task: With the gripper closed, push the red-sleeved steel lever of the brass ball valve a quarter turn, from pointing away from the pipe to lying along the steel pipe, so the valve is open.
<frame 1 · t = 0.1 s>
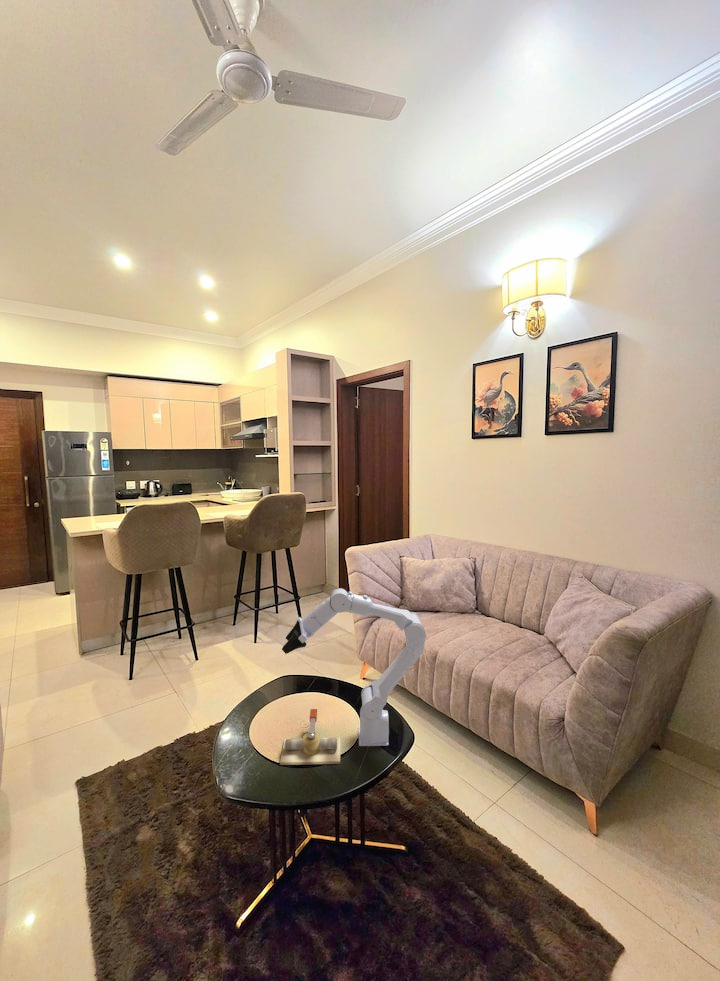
hand: (285, 645, 127), 32 cm above the table, tool tilted 50°, fingers open, 7 cm apart
valve lever: (312, 723, 129), point 6 cm above the table, hinge at 0.0°
valve fixture: (311, 751, 125), on the table
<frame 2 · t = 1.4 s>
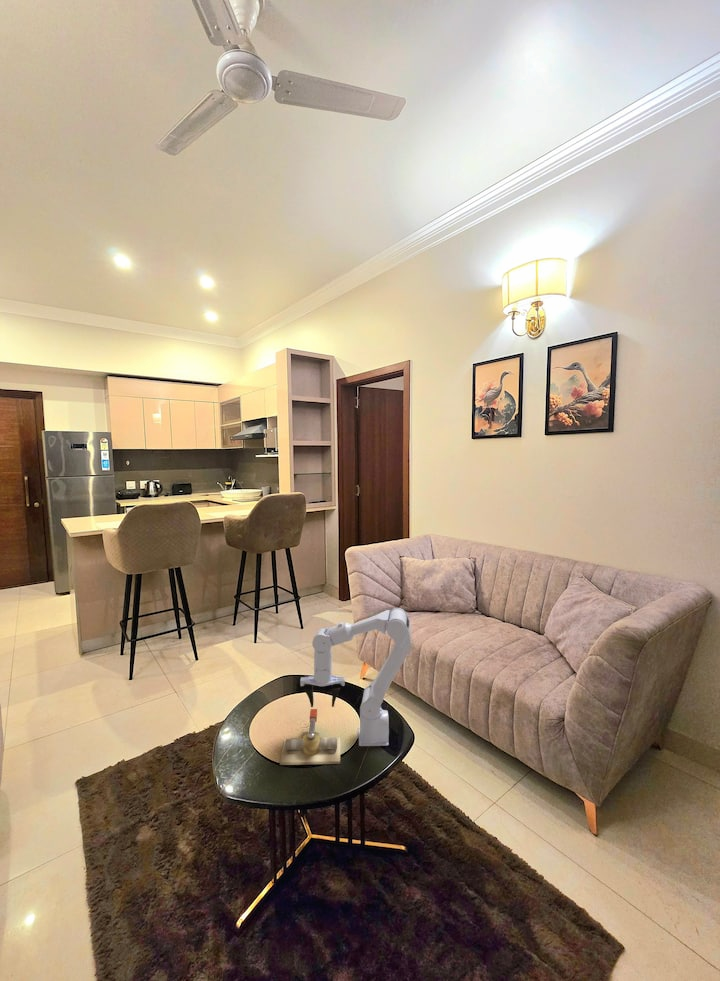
hand: (322, 705, 133), 9 cm above the table, tool pointing down, fingers open, 6 cm apart
nothing on the table moved.
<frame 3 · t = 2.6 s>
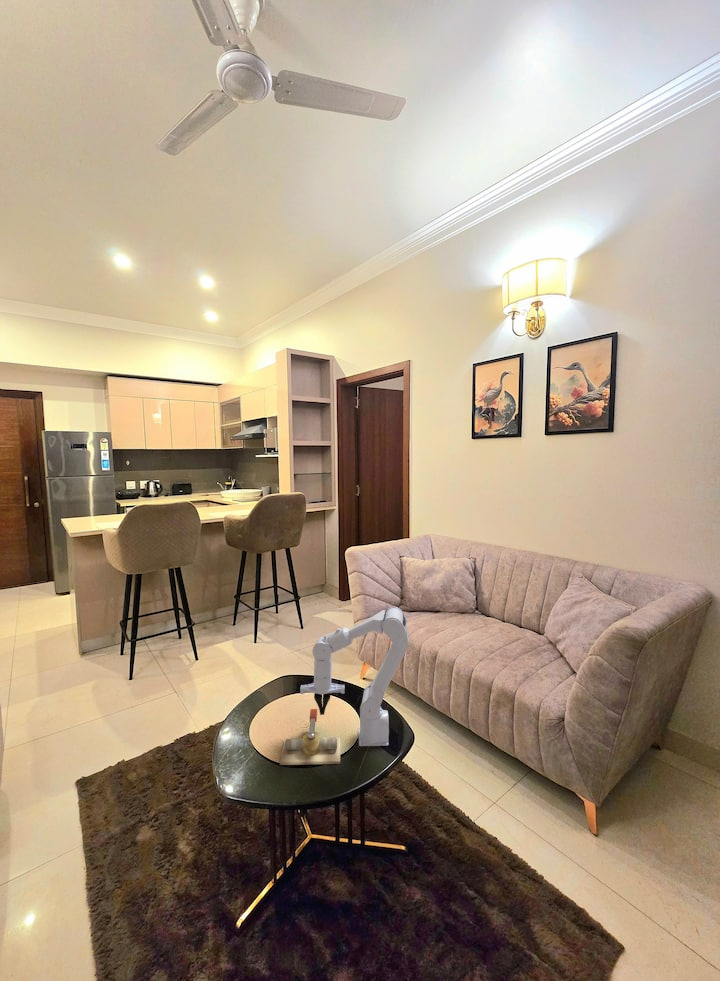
hand: (322, 712, 133), 7 cm above the table, tool pointing down, fingers closed
nothing on the table moved.
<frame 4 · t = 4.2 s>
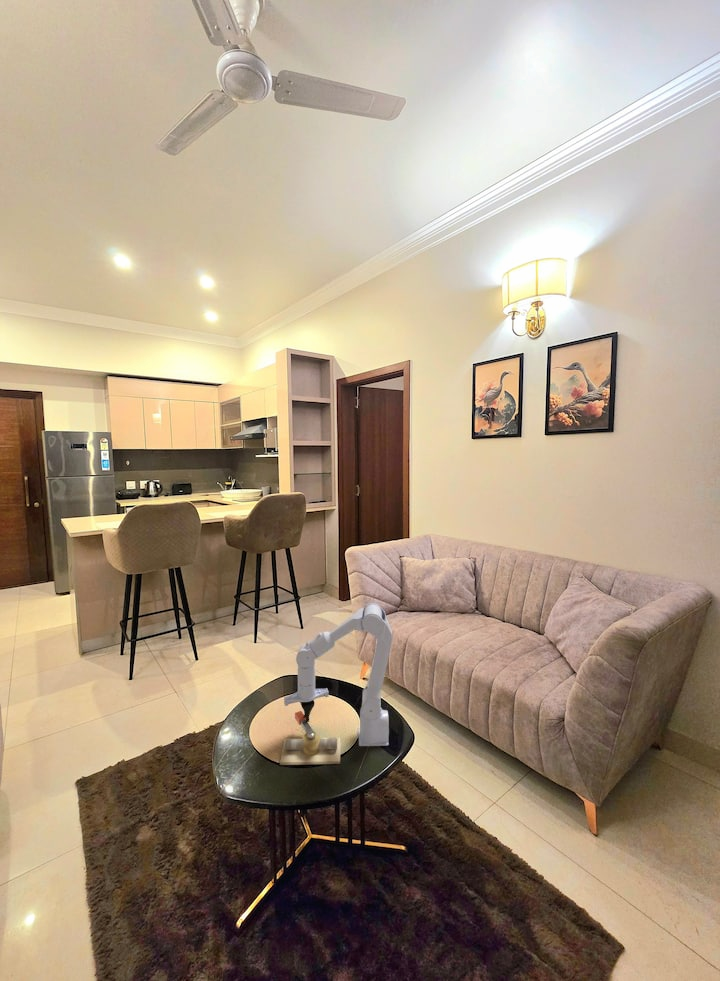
hand: (306, 720, 132), 5 cm above the table, tool pointing down, fingers closed, pressing on valve lever
valve lever: (305, 725, 128), point 6 cm above the table, hinge at 28.3°, touching gripper
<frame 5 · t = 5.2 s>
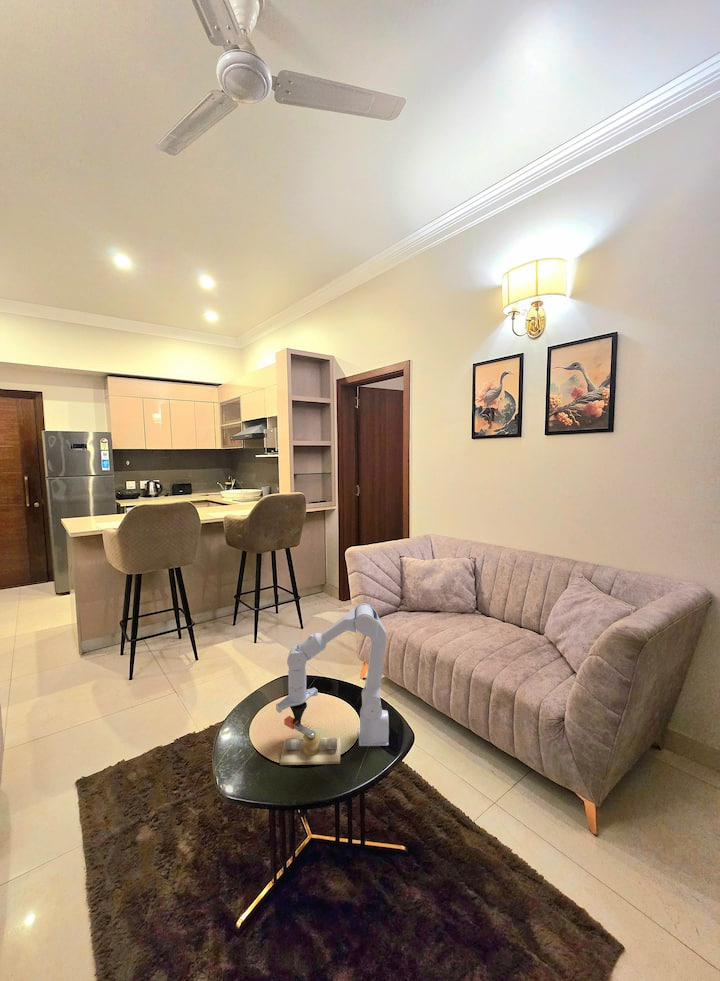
hand: (297, 723, 131), 5 cm above the table, tool pointing down, fingers closed
valve lever: (300, 727, 127), point 6 cm above the table, hinge at 51.0°, touching gripper
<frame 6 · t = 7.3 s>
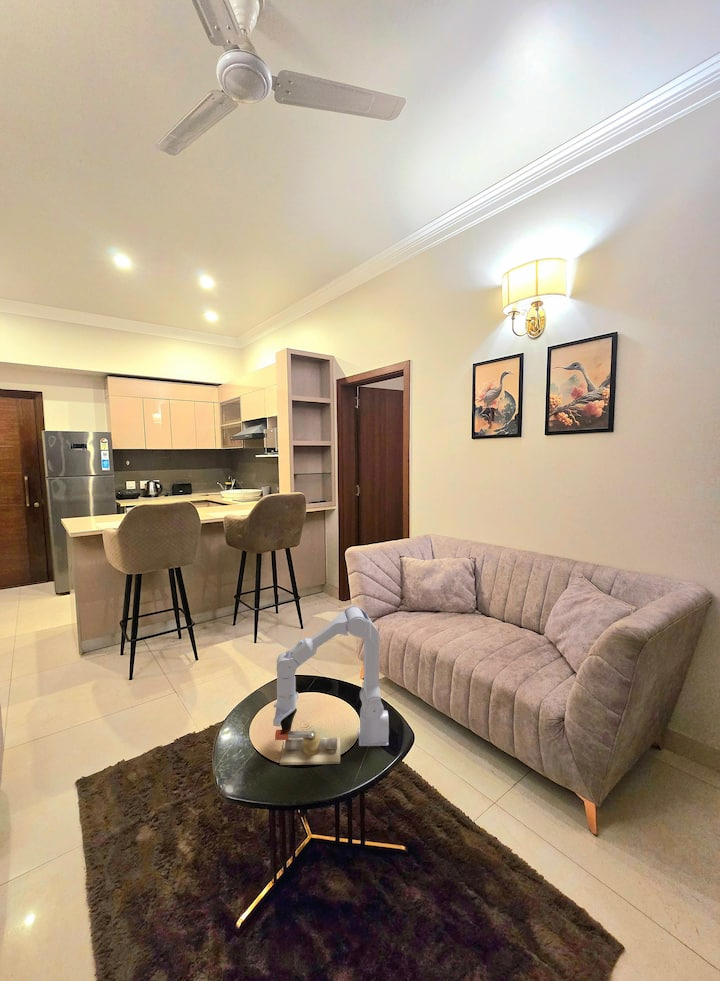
hand: (286, 732, 126), 5 cm above the table, tool pointing down, fingers closed
valve lever: (295, 734, 124), point 6 cm above the table, hinge at 89.4°, touching gripper
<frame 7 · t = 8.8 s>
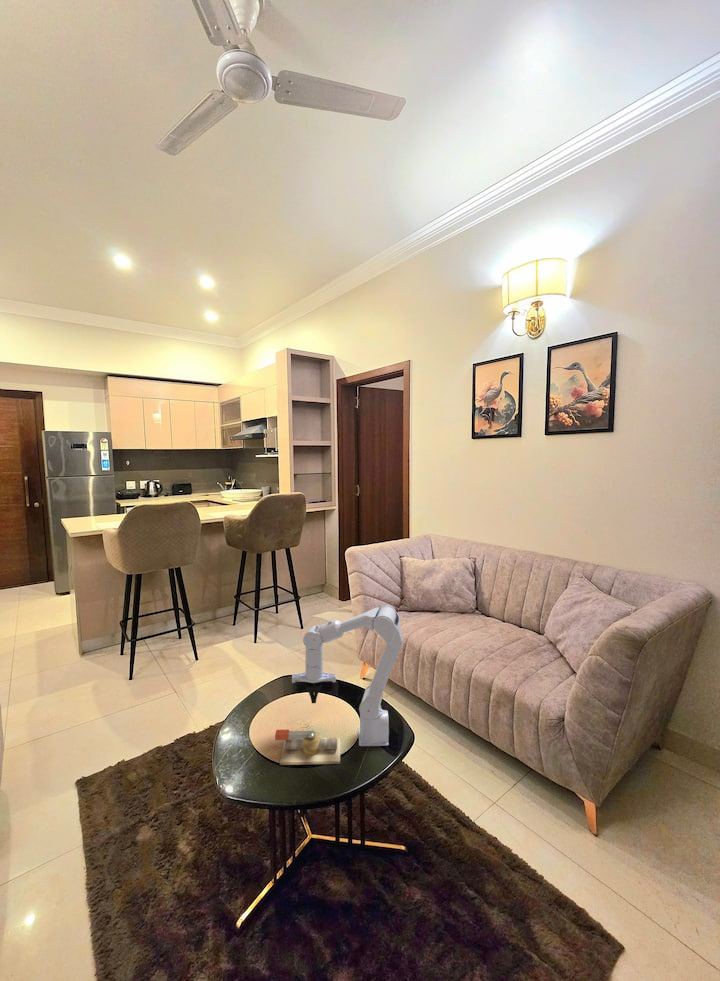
hand: (313, 701, 135), 9 cm above the table, tool pointing down, fingers closed
valve lever: (295, 734, 124), point 6 cm above the table, hinge at 89.6°
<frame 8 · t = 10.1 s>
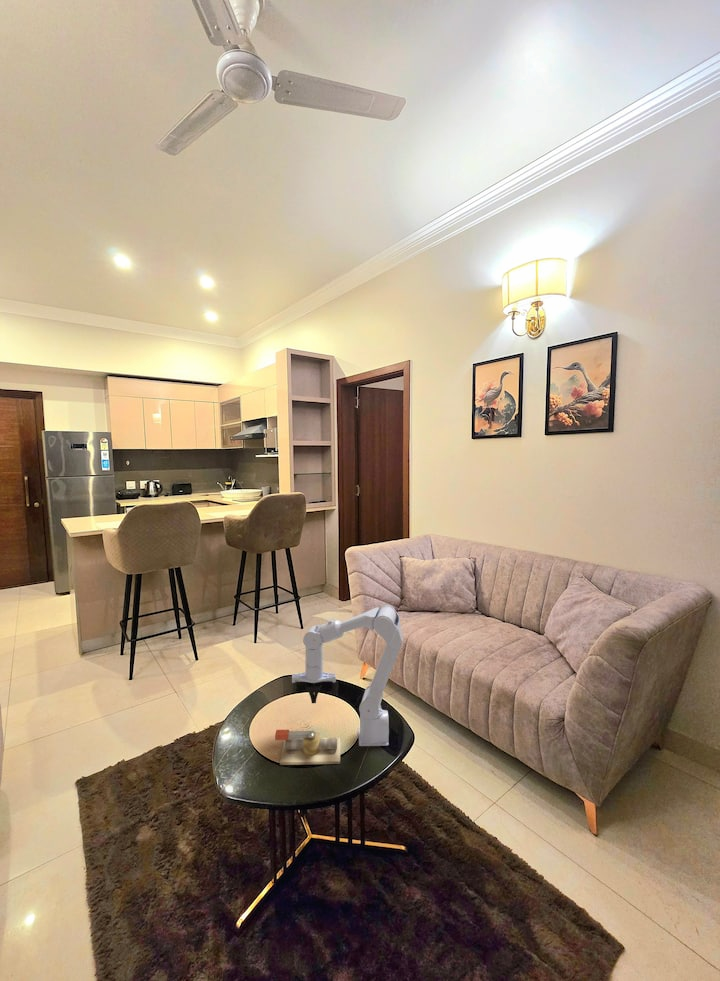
hand: (313, 701, 135), 9 cm above the table, tool pointing down, fingers closed
nothing on the table moved.
at the end: valve lever at +90° (first picture: +0°) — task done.
